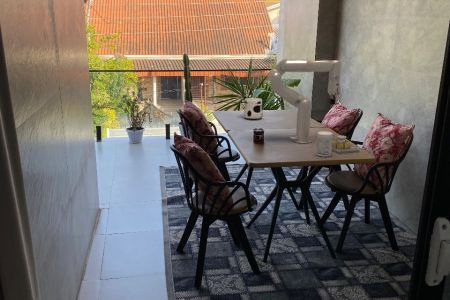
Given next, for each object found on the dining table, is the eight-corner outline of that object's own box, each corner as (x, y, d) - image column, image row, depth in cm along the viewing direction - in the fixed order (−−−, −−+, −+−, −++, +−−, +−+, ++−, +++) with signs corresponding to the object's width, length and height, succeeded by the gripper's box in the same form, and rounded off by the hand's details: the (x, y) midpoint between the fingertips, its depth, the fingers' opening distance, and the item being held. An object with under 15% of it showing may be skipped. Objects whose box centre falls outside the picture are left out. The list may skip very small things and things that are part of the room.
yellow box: (349, 149, 289) (350, 142, 288) (330, 147, 293) (331, 140, 292) (351, 143, 305) (351, 136, 303) (333, 142, 308) (333, 135, 307)
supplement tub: (321, 152, 290) (322, 130, 286) (334, 154, 283) (335, 132, 279) (313, 155, 283) (314, 132, 279) (326, 158, 277) (327, 135, 273)
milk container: (240, 117, 403) (241, 98, 399) (258, 116, 408) (258, 97, 404) (247, 121, 387) (247, 100, 383) (265, 120, 392) (266, 100, 388)
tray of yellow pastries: (337, 153, 286) (338, 140, 283) (322, 146, 304) (323, 133, 302) (359, 152, 290) (360, 139, 287) (343, 144, 308) (344, 132, 306)
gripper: (344, 79, 300) (342, 105, 305) (333, 77, 314) (332, 102, 319) (334, 79, 298) (333, 106, 303) (324, 77, 312) (322, 102, 317)
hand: (332, 104), depth 311 cm, fingers closed
